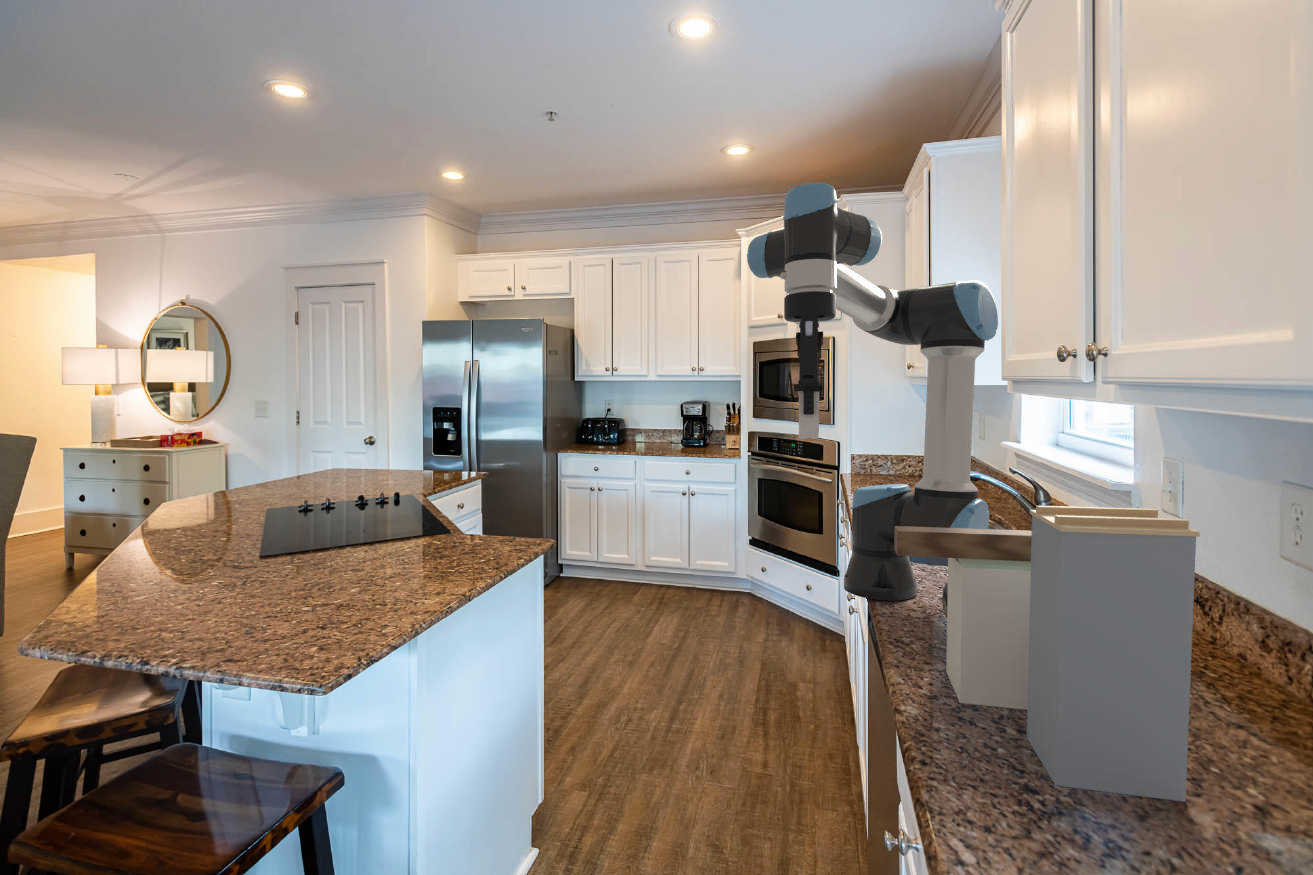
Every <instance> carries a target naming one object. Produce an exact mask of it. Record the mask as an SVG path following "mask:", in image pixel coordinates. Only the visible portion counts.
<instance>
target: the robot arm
mask: <svg viewBox="0 0 1313 875" xmlns="http://www.w3.org/2000/svg"><path fill="white" fill-rule="evenodd" d="M837 204H838V199H837V191H836V190H835V187H834V186H833V185H832V184H829V183H825V182H807V183H803V184H799V185H796V186H794V187H792V188H791V189H789V190H788V191H787V193H786V194H785V198H784V209H783V210H784V212H783V217H782V221H783V228H782V229H779V230H774V231H772V230H771V231H768V232H767V233H764V234H762V235H758V236H756V237H754V238H753V239H752V240H751V241H750V242H749V244H748V247H747V254H746V259H747V260H746V261H747V265H748V267H749V270H750V272H751V273H752V274H753V275H754V276H755V277H756V278H759V279H766V278H767V279H772V278H775V277H778V278H780V279H781V280H784V292H785V293H787V295H786V296H785V297H784V299H783V300H784V301H783V304H784V306H783V307H784V308H783V313H784V314H783V318H784V320H785V321H787V322H790V323H799V324H798V328H799V331H798V332H795V344H796V346H797V347H796V350H797V351H796V354H797V355H796V356H797V358H798V359H799V373H798V374H799V379H798V380H797V381H798V382H797V384H794V385H793V392H796V393H798V439H820V438H819V434H820V393H822V392H824V385H820V381H819V360H821V358H822V346H823V345H824V331H819V328H820V323H819V322H827V321H831V320H834V318H836V316H837V315H836V314H837V312H836V311H839V312H840V313H842V314H844V315H846V316H848V317H849V318H851V319H852V322H853V323H854V325H855V326H856V327H857V328H858V329H861V331H864V332H865V333H868V334H870V335H872V336H874V337H877V338H879V339H881V340H882V339H883V340H885V341H888V342H891V343H895V344H899V345H905V346H913V345H914V346H915V345H916V346H917V345H918V346H919V345H920V351H919V352H920V353H921V354H922V355H923V356H924V357H925V358H926V359H927V360H926V361H927V374H926V375H927V377H926V378H927V379H926V399H925V400H926V401H925V402H926V404H925V423H924V424H925V425H924V447H923V448H924V449H923V469H922V472H923V473H922V478H921V479H920V480H919V481H918V482H917V483H915V484H914V489H913V490H914V491H913V492H911V487H910V485H909V484H907V483H906V484H905V483H891V484H890V483H889V484H878V485H867V486H860V487H859V488H857V489H855V490H854V492H853V494H852V504H851V510H852V512H851V513H852V514H851V516H852V517H851V520H852V524H851V525H852V526H851V527H852V532H851V533H852V536H851V537H852V538H851V539H852V540H851V542H852V547H851V548H852V551H851V557H850V559H849V562H848V566H847V568H846V572H845V574H844V576H843V589H844V591H846V592H847V593H849V594H851V595H853V596H857V597H859V598H864V599H867V600H868V599H869V600H876V601H889V602H890V601H893V602H894V601H904V600H909V599H912V598H914V597H916V596H917V594H918V582H917V580H916V578H915V574H914V570H913V567H912V564H911V561H910V556H897V554H896V552H895V550H894V531H895V526H910V527H940V528H969V529H989V524H990V511H989V506H988V503H987V501H985V500H983V499H982V498H978V496H979V489H978V487H977V486H976V485H975V484H974V483H973V482H972V481H971V468H972V466H971V463H972V462H971V461H972V443H973V442H972V440H973V439H972V438H973V419H974V417H973V416H974V400H975V399H974V398H975V397H974V395H975V377H976V376H975V374H976V373H975V372H976V371H975V370H976V359H977V358H978V357H979V356H980V355H982V354H983V352H985V343H986V341H990V340H992V339H994V337H995V336H996V334H997V330H998V327H999V326H998V325H999V316H998V309H997V304H996V301H995V297H994V296H993V293H992V292H991V290H990V288H989V287H988V286H987V285H986V284H985V283H984V282H982V281H979V280H966V281H959V280H958V281H955V282H948V283H943V284H936V285H930V286H924V287H923V286H922V287H917V288H907V289H897V290H896V289H890V288H889V287H887V286H884V285H874V284H873V283H871V281H868V280H867V279H865V278H864V277H862V276H861V275H859V274H858V273H856V272H854V271H853V270H851V269H850V268H848V267H846V266H845V265H847V266H851V267H852V266H864V265H867V264H869V263H870V262H871V261H872V260H875V258H876V256H877V255H878V254H879V252H880V249H881V248H882V242H883V236H882V235H883V234H882V231H881V229H880V228H881V227H880V226H879V224H877V223H876V222H875V221H874V220H872V219H869V218H868V217H866V216H864V215H863V214H862V215H861V214H857V213H854V212H851V211H849V210H848V211H847V210H845V209H842V208H840V207H837V206H838V205H837ZM843 264H845V265H843Z"/></svg>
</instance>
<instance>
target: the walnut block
mask: <svg viewBox="0 0 1313 875" xmlns="http://www.w3.org/2000/svg"><path fill="white" fill-rule="evenodd" d="M1031 540H1032V530H1029V529H1028V530H1026V529H1025V530H1024V529H1023V530H1021V529H993V528H991V529H990V528H987V529H969V528H940V527H910V526H895V531H894V550H895V552H896V554H897V556H909V557H919V558H920V557H921V558H922V557H925V558H940V559H941V558H942V559H948V558H962V559H984V560H1007V561H1029V562H1031Z"/></svg>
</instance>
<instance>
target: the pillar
mask: <svg viewBox="0 0 1313 875" xmlns="http://www.w3.org/2000/svg"><path fill="white" fill-rule="evenodd" d="M1029 514H1030V515H1031V531H1032V540H1031V582H1030V624H1029V666H1028V708H1027V710H1026V712H1027V713H1026V714H1027V715H1026V716H1027V717H1026V739H1027V740H1028V742H1029V743H1030V746H1031V747H1032V749H1033V750H1034V753H1036V756H1037V757H1038V758H1039V760H1040V762H1041V764H1042V765H1043V767H1044V769H1045V770H1046V772H1047V773H1048V775H1049V777H1050V779H1051V780H1052V782H1053V784H1054V785H1055V786H1057V787H1064V788H1065V787H1067V788H1073V789H1080V790H1087V791H1088V790H1090V791H1096V792H1097V791H1098V792H1104V793H1105V792H1106V793H1111V794H1118V795H1119V794H1121V795H1129V796H1135V797H1136V796H1137V797H1144V798H1153V799H1160V800H1168V801H1174V802H1175V801H1176V802H1184V803H1186V801H1187V800H1186V796H1187V795H1186V794H1187V777H1188V776H1187V774H1188V773H1187V772H1188V750H1189V749H1188V748H1189V725H1190V724H1189V722H1190V719H1189V718H1190V703H1191V702H1190V699H1191V698H1190V696H1191V676H1192V675H1191V674H1192V673H1191V672H1192V649H1193V625H1194V624H1193V622H1194V599H1195V576H1196V575H1195V574H1196V550H1197V537H1201V536H1200V535H1201V531H1199V530H1196V529H1193V528H1191V527H1190V520H1189V519H1185V518H1166V517H1165V518H1163V517H1160V516H1159V510H1158V509H1155V508H1140V507H1138V508H1137V507H1136V508H1135V507H1108V506H1107V507H1106V506H1104V507H1103V506H1072V505H1069V506H1066V505H1064V506H1063V505H1035V509H1029Z"/></svg>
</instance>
